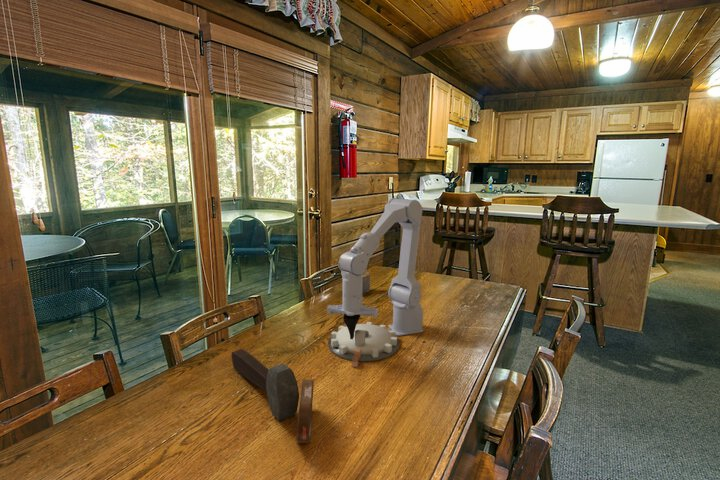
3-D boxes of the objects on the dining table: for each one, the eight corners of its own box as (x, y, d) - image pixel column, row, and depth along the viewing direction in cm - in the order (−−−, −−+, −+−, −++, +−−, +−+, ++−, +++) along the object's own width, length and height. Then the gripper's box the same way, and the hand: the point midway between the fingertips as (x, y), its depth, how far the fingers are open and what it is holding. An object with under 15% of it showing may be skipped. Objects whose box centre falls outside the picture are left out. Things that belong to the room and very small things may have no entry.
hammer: (230, 380, 101) (281, 426, 78) (226, 341, 100) (275, 375, 77) (247, 374, 104) (301, 416, 81) (243, 335, 103) (296, 367, 80)
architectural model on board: (365, 290, 165) (365, 269, 163) (369, 292, 163) (370, 270, 161) (345, 296, 158) (345, 274, 156) (350, 298, 155) (350, 275, 154)
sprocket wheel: (339, 324, 127) (339, 308, 125) (399, 330, 123) (400, 313, 122) (322, 354, 107) (322, 334, 106) (393, 361, 103) (393, 341, 102)
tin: (301, 404, 86) (300, 371, 84) (315, 403, 86) (314, 370, 84) (295, 453, 71) (294, 414, 69) (312, 452, 71) (311, 414, 70)
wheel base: (382, 324, 129) (383, 320, 128) (414, 357, 107) (414, 352, 107) (320, 333, 122) (320, 329, 121) (340, 370, 100) (340, 365, 100)
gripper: (324, 296, 103) (324, 342, 106) (376, 300, 101) (375, 346, 104) (330, 288, 110) (330, 331, 113) (378, 291, 108) (378, 335, 110)
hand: (352, 337), depth 109 cm, fingers closed
